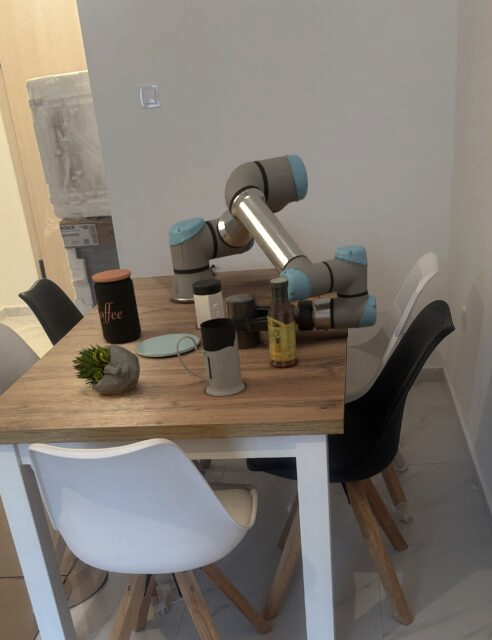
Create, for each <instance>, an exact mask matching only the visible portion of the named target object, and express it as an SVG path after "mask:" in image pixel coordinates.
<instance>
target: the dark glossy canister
mask: <svg viewBox="0 0 492 640" xmlns="http://www.w3.org/2000/svg"><path fill="white" fill-rule="evenodd" d="M258 305H259V302H258V295H257V294H254V293H239V294H233V295H230V296H228V297H226V298H225V307H226V308H225V309H226V316H227V317H226V318H230V319H244V318H246V317H249V319H255V318H259V312H258ZM253 326H254V325H253ZM236 333H237V340H238V349H239V350H246V349H247V350H248V349H252V348H256V347H259V346H260V345H261V344H262V334H261V332H252V333H250V332H249V330H236Z"/></svg>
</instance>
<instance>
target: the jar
mask: <svg viewBox="0 0 492 640" xmlns="http://www.w3.org/2000/svg"><path fill="white" fill-rule="evenodd" d="M222 287H223V286H222V281H221V280H220V279H218V278H214V279H205V280H200V281H196V282H194V283H193V284H192V289H193V294H194V309H195V316H196V324H197V329H198V330H201V328H200V324H201V323H203V322H205V321H207V320H211V319H216V318H226V317H225V306H224V299H223V291H222V290H223V289H222Z"/></svg>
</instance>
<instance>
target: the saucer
mask: <svg viewBox="0 0 492 640" xmlns="http://www.w3.org/2000/svg"><path fill="white" fill-rule="evenodd" d="M183 336H190V337H192V338H193V339H194V340H195V342H196V345H197V347H198V346H199V345H200V341H201V339H200V338H199V337H198V336H197V335H194V334H190V333H168V334H163V335H157V336H153V337H150V338H147V339H145V340H142V341H141V342H139V343H138V344H137V345H136V346H135V352H136V353H137V354H138V355H140V356H143V357H150V358H160V357H170V356H176V355H177V350H176V344H177V341H178V340H179V339H180V338H181V337H183ZM178 350H179V354H180V355H181V354H183V353H187V352H189V351H192V350H195V346H194V342H193V341H192V339H190V338H183V339H182V340H181V341H180V342H179V345H178Z"/></svg>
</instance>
